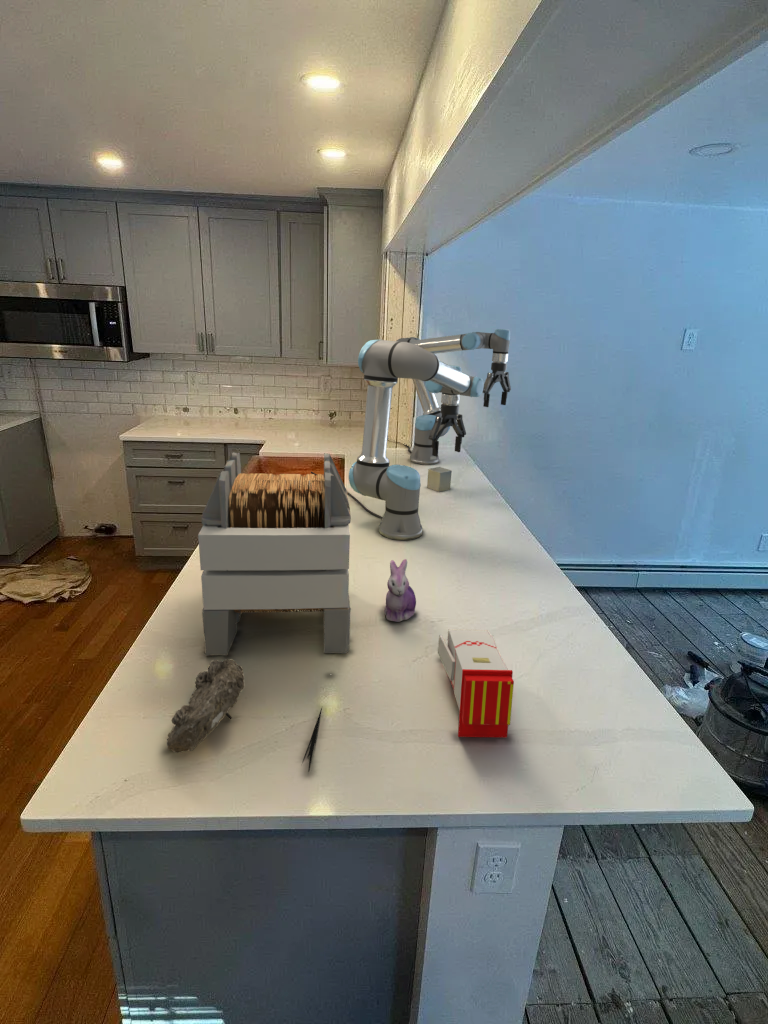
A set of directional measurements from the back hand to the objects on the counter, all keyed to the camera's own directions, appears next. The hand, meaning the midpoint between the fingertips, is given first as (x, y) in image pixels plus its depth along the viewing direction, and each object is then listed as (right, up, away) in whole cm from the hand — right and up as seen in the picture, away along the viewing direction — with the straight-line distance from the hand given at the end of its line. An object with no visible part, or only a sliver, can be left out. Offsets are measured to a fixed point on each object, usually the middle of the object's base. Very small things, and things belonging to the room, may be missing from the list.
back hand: (494, 405), depth 285 cm
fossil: (-88, -92, -177) cm, 218 cm away
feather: (-68, -93, -176) cm, 210 cm away
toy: (-38, -91, -166) cm, 193 cm away
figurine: (-52, -80, -137) cm, 167 cm away
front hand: (-29, -28, -42) cm, 58 cm away
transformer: (-81, -80, -142) cm, 182 cm away
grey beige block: (-31, -43, -32) cm, 62 cm away
